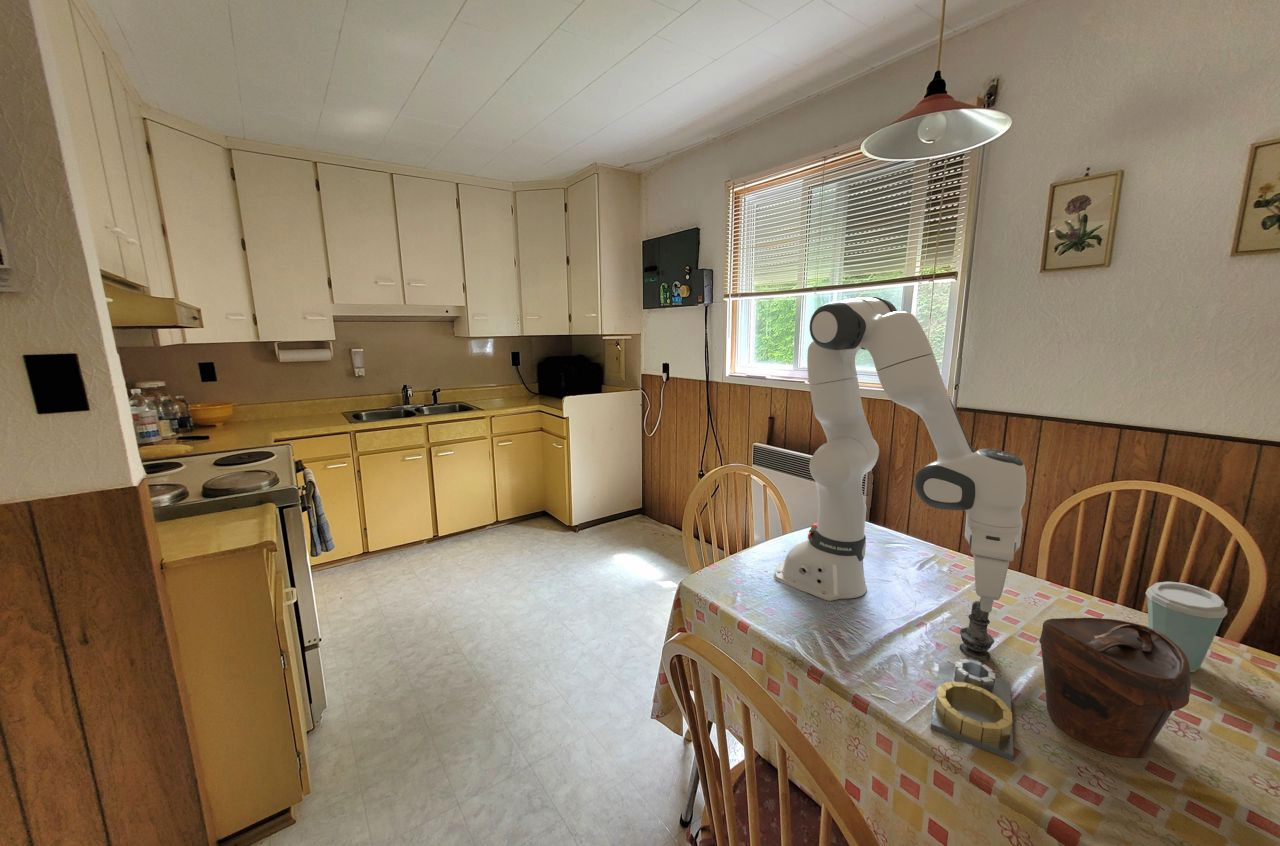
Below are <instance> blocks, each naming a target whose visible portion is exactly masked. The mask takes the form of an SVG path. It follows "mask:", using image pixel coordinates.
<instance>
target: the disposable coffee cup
mask: <svg viewBox="0 0 1280 846" xmlns="http://www.w3.org/2000/svg"><path fill="white" fill-rule="evenodd" d="M1145 595H1146V600H1147V619H1148V623H1147V624H1148V627H1149V628H1151V629H1153V630H1155V631H1158V632H1160V633H1162V634H1163V635H1165V636H1166V637H1168V638H1169V639H1170V640H1172V641H1173V642H1174V643H1175V644H1176V645H1178V646H1179V647H1180V648H1181V650H1182V651H1183V652H1184V654H1185V655H1186V657H1187V659H1188V662H1189V666H1190V673H1196V672H1197V670H1199V669H1200V668H1201V666H1202V665H1203V662H1204V660H1205V659H1206V658H1205V657H1206V655H1207V653H1208V651H1209V649H1210V648H1211V645H1212V642H1213V640H1214V639H1215V636H1216V634H1217V632H1218V631H1219V628H1220V626H1221V624H1222V621H1223V619H1225V617H1226V616H1227V615H1228V607H1226V605H1225V602H1224V600H1223V599H1222V598H1221V597H1220V596H1219V595H1218V594H1216V593H1214V592H1212V591H1209V590H1207V589H1205V588H1202V587H1199V586H1195V585H1192V584H1188V583H1185V582H1184V583H1183V582H1178V581H1177V582H1176V581H1162V582H1161V581H1160V582H1155V583H1154V584H1153V585H1150V586H1149V587H1148V588H1147V589H1146V592H1145Z"/></svg>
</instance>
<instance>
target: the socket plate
mask: <svg viewBox="0 0 1280 846" xmlns="http://www.w3.org/2000/svg"><path fill="white" fill-rule="evenodd" d="M935 688H936V689H935V695H934V700H933V701H934V703H933V708H932V715H931V720H930V722H931V723H930V730H933V731H936V732H938V733H940V734H943V735H946V736H947V737H950V738H953V739H955V740H959V741H961V742H963V743H966V744H969V745H971V746H973V747H976V748H979V749H982V750H984V751H987V752H989V753H990V754H991V753H992V754H994V755H996V756H997V755H998V756H999V757H1002V758H1004V759H1007V760H1010V761H1011V762H1013V761H1014V756H1015V755H1014V738H1013V737H1014V736H1013V712H1012V702H1011V701H1012V700H1011V698H1012V697H1011V683H1010V681H1007V680H1003V679H1001V678H998V677H996V673H995V672H994V670H993V669H992V668H990V667H989V666H988V665H987V664H982V662H980V661H979V660H978V661H977V660H976V659H973V658H971V659H970V658H969V659H967V658H961V659H957V660H956V661H955V664H954V663H951V662H947V661H944V660H940V661H939V669H938V674H937V682H936V687H935Z"/></svg>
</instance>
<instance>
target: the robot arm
mask: <svg viewBox="0 0 1280 846" xmlns="http://www.w3.org/2000/svg"><path fill="white" fill-rule="evenodd" d="M809 333H810V337H811V339H812V340H813V341H811V342H810V344H809V346H808V348H807V354H806V355H807V356H806V357H807V360H806V361H807V362H806V363H807V365H806V366H807V377H808V384H809V390H810V391H809V392H810V398H811V404H812V410H813V415H814V417H815V419H816V420H817V421H818V422H819V423H820V425H821V427H822V430H823V432H824V436H825V437H826V442H825V443H823V444H822V445H820V446H819V447H818V448H817V450H815V452H814V453H813V455H812V456H811V458H810V460H809V471H810V475H811V477H812V478H813V480H814V482H815V486H816V492H817V500H818V509H817V522H814V523H813V524H812V525H811V527H810V529H809V531H808V534H807V540H805V541H802V542H800V543H798V544H796V545H794V546H793V547H792V548H791V549H790V550H789V551H788V552H787V554H786V557H785V559H784V560H782V561H781V562H779V564H778V565H777V566H776V568H775V571H774V578H775V580H776V581H778V582H779V583H783V584H785V585H787V586H790V587H792V588H794V589H798V590H800V591H803V592H805V593H808V594H809V595H812V596H815V597H818V598H820V599H821V600H825V601H829V602H831V601H837V600H839V599H843V600H844V599H854V598H856V599H857V598H859V597H861V596H863V595H865V594H866V593H867V591H868V589H867V588H868V587H867V584H866V579H865V578H866V577H865V569H864V558H865V556H866V547H867V541H866V540H867V536H866V535H865V529H866V516H867V505H866V503H865V500H864V494H863V487H862V486H863V480H864V477H865V475H866V474H867V473H869V472H870V471H871V470H872V469H874V467H875V465H876V464H877V461H878V458H879V455H880V447H879V445H878V443H877V440H876V439H875V438H874V437H873V434H872V431H871V428H870V426H869V423H868V421H867V420H868V419H867V418H866V415H865V414H866V413H865V410H864V408H863V402H862V395H861V389H860V385H859V380H858V379H859V378H858V373H857V368H856V356H857V353H858V352H859V350H860V349H861V350H864V351H865V350H866V351H867V352H868V353H869V354H870V355H871V356H870V357H871V358H872V361H873V364H874V367H875V371H876V373H877V376H878V380H879V383H880V384H881V387H882V390H884V393H885V394H886V396H887V397H888V399H889V400H891V401H892V402H893V403H896V404H897V405H899V406H901V407H905V408H906V409H909V410H911V411H912V412H914V413H916V414H917V415H918V416H919V417H920V418H921V420H922V421H923V422H924V424H925V427H926V429H927V431H928V434H929V436H930V439H931V441H932V443H933V445H934V446H933V447H934V448H935V451H936V454H937V455H936V456H937V459H936V460H935V461H932V462H930V463H928V464H927V465H925V466H924V467H922V468H921V469H919V470H918V471H917V474H916V475H915V478H914V481H913V482H914V484H913V485H914V489H915V493H916V495H917V496H918V498H919V499H920V500H921V501H922V502H923V503H924V504H926V505H927V506H929V507H931V508H933V509H937V510H947V511H965V512H966V517H965V528H964V538H965V540H966V541H967V543H968V545H969V550H970V554H972V557H973V566H974V567H973V568H974V569H973V570H974V587H975V588H974V589H975V593H976V594H975V595H976V596H978V597H980V599H981V604H980V609H981V610H982V611H985V612H989V613H991V612H993V611H992V610H993V604H994V601H999V600H1000V599H1001V597H1002V593H1003V591H1004V587H1005V582H1006V579H1007V574H1008V571H1009V565H1010V562H1013V561H1014V558H1015V554H1016V552H1017V551H1018V550H1019V548H1020V547H1021V542H1022V541H1021V540H1022V531H1023V525H1024V524H1023V522H1024V521H1023V517H1022V508H1023V506H1025V503H1026V493H1027V472H1026V471H1027V470H1026V466H1025V464H1024V462H1023V460H1021V458H1019V457H1018V456H1016V455H1015V454H1013V453H1010V452H1007V451H1004V450H1000V449H996V448H995V449H992V448H980V449H978V450H975V449H974V447H973V446H972V445H971V443H970V441H969V439H968V437H967V434H966V431H965V430H964V427H963V425H962V424H963V423H961V420H960V418H959V416H958V413H957V411H956V408H955V407H954V404H953V402H952V400H951V398H950V396H949V394H948V390H947V388H946V386H945V384H944V381H943V378H942V374H941V371H940V369H939V365H938V362H937V360H936V356H935V353H934V351H933V349H932V345H931V344H930V341H929V338H928V337H927V335H926V332H925V330H924V329H923V327H922V325H921V324H920V322H919V320H918V318H917V317H916V316H915V315H914V314H913V313H911V312H909V311H903V310H901V311H898V310H897V308H896V306H895V305H894V304H893V303H892V302H891V301H890V300H888V299H886V298H881V297H878V296H870V297H851V298H848V299H843V300H840V301H838V300H836V301H830V302H828V303H825V304H823V305H821V306H819V307H818V308H817V309H816V310H815V311H814V312H813V313H812V315H811V317H810V320H809Z"/></svg>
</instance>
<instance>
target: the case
mask: <svg viewBox="0 0 1280 846" xmlns="http://www.w3.org/2000/svg"><path fill="white" fill-rule="evenodd" d="M1041 629H1042V630H1041V634H1040V637H1039V638H1038V639H1039V640H1038V641H1039V643H1040V650H1041V656H1042V665H1043V667H1042V669H1043V675H1044V676H1043V678H1044V687H1045V700H1046V709H1047V713H1048V714H1049V717H1050V718H1051V719H1052V721H1053V722H1054V723H1055V724H1056V725H1057V726H1058V727H1059V728H1060V729H1061V730H1063V731H1064V732H1065V733H1067V734H1068V735H1069V736H1070V737H1072V738H1074V739H1076V740H1078V741H1079V742H1081V743H1083V744H1084V745H1087V746H1089V747H1091V748H1093V749H1096V750H1098V751H1100V752H1101V751H1102V752H1105V753H1108V754H1110V755H1111V754H1112V755H1115V756H1119V757H1129V758H1130V757H1131V758H1132V757H1133V758H1136V757H1137V758H1143V757H1144V758H1145V757H1147V756H1148V754H1149V752H1150V749H1151V747H1152V745H1153V743H1154V741H1155V740H1156V738H1157V736H1158V735H1159V733H1160V732H1161V730H1162V729H1163V727H1164V726H1165V724H1166V722H1167V721H1168V719H1169V717H1170V716H1171V715H1172V713H1173V712H1175V711H1178V710H1181V709H1183V708H1185V707H1186V706H1187V705H1188V703H1190V702H1189V701H1190V696H1191V686H1192V685H1191V684H1192V683H1191V672H1190V666H1189V662H1188V659H1187V657H1186V655H1185V654H1184V652H1183V651H1182V650H1181V648H1180V647H1179V646H1178V645H1176V644H1175V643H1174V642H1173V641H1172V640H1170V639H1169V638H1168V637H1166V636H1165V635H1163V634H1162V633H1160V632H1158V631H1155V630H1153V629H1151V628H1149V626H1147V625H1143V624H1141V623H1140V624H1139V623H1135V622H1131V621H1126V620H1122V619H1115V618H1102V617H1101V618H1099V617H1065V618H1064V617H1063V618H1048V619H1046V620H1044V621H1043V623H1042V628H1041Z"/></svg>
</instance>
